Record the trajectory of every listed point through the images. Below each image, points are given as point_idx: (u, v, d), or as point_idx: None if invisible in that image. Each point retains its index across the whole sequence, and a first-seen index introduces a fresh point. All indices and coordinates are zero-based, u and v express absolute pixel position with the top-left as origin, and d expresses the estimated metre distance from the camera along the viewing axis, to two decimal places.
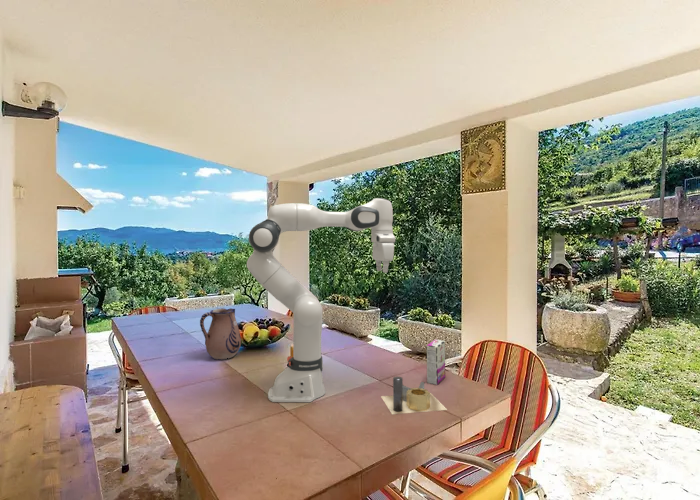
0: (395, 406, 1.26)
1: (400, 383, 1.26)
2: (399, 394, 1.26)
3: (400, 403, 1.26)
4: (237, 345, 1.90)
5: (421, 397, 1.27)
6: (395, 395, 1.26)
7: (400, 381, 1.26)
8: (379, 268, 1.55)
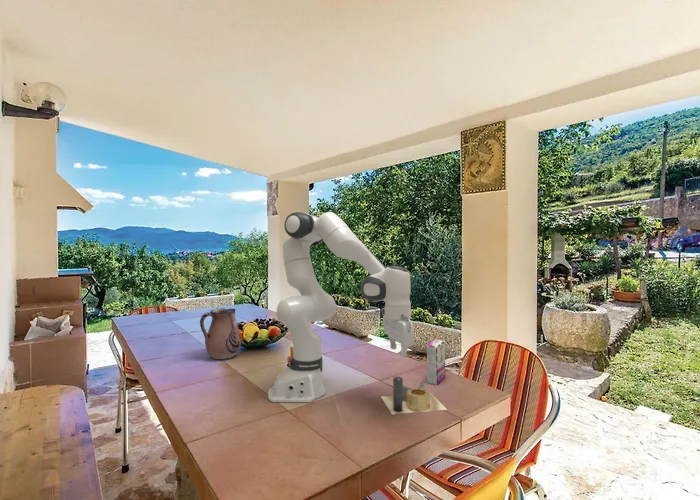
0: (395, 406, 1.26)
1: (400, 383, 1.26)
2: (399, 394, 1.26)
3: (400, 403, 1.26)
4: (237, 345, 1.90)
5: (421, 397, 1.27)
6: (395, 395, 1.26)
7: (400, 381, 1.26)
8: None
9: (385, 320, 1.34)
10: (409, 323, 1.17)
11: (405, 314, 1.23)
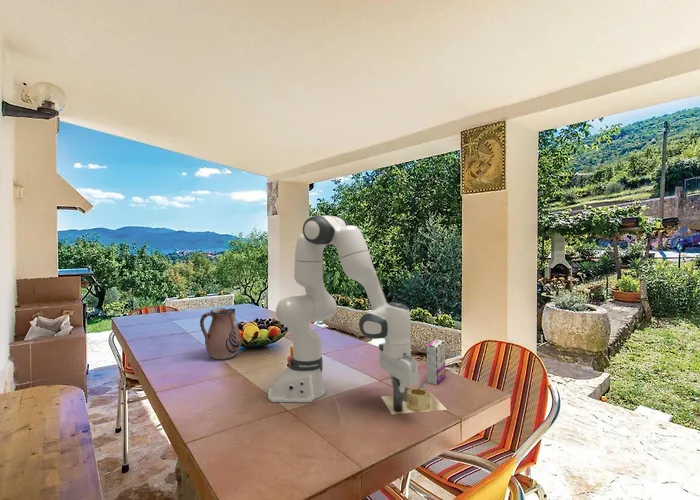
0: (395, 406, 1.26)
1: None
2: (399, 394, 1.26)
3: (400, 403, 1.26)
4: (237, 345, 1.90)
5: (421, 397, 1.27)
6: (395, 395, 1.26)
7: None
8: None
9: (382, 356, 1.34)
10: (414, 363, 1.18)
11: (407, 352, 1.24)
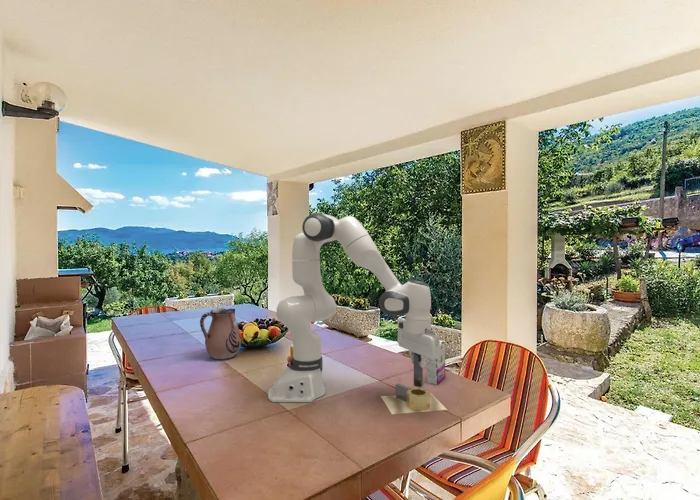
0: (416, 381, 1.29)
1: (421, 359, 1.29)
2: (419, 369, 1.29)
3: (421, 378, 1.29)
4: (237, 345, 1.90)
5: (421, 397, 1.27)
6: (416, 370, 1.29)
7: None
8: None
9: (401, 333, 1.36)
10: (437, 337, 1.21)
11: (428, 328, 1.27)
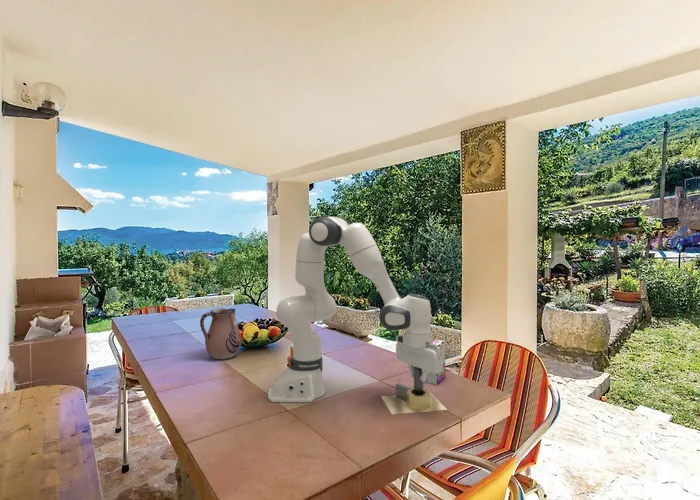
0: None
1: (421, 372, 1.29)
2: (420, 383, 1.29)
3: (421, 392, 1.29)
4: (237, 345, 1.90)
5: (421, 397, 1.27)
6: (417, 384, 1.29)
7: (421, 370, 1.29)
8: None
9: (399, 347, 1.35)
10: (440, 351, 1.22)
11: (429, 341, 1.27)
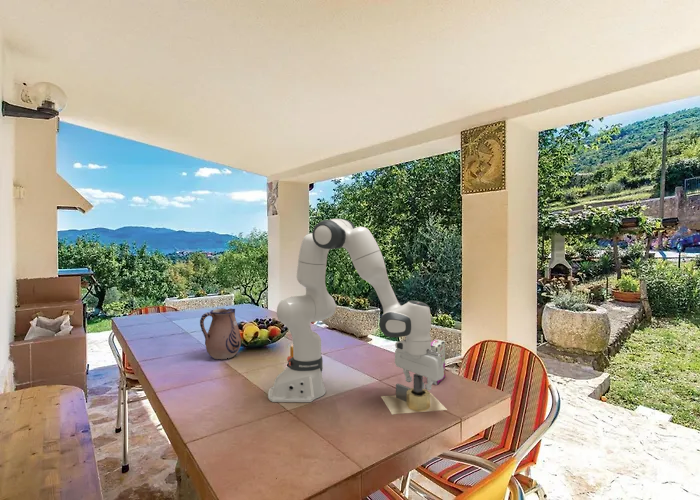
0: None
1: (421, 380, 1.29)
2: (420, 390, 1.29)
3: None
4: (237, 345, 1.90)
5: (421, 397, 1.27)
6: (416, 392, 1.29)
7: (421, 378, 1.29)
8: None
9: (399, 354, 1.35)
10: (441, 358, 1.22)
11: (429, 348, 1.28)
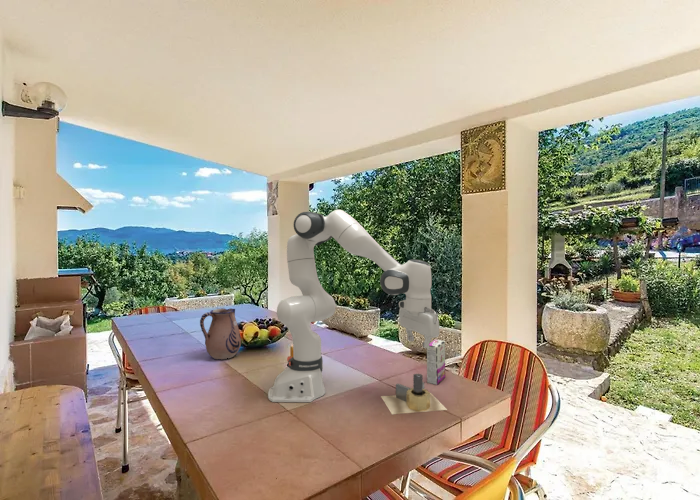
0: None
1: (421, 380, 1.29)
2: (420, 391, 1.29)
3: None
4: (237, 345, 1.90)
5: (421, 397, 1.27)
6: (416, 392, 1.29)
7: (421, 378, 1.29)
8: None
9: (402, 313, 1.36)
10: (435, 315, 1.21)
11: (428, 307, 1.26)
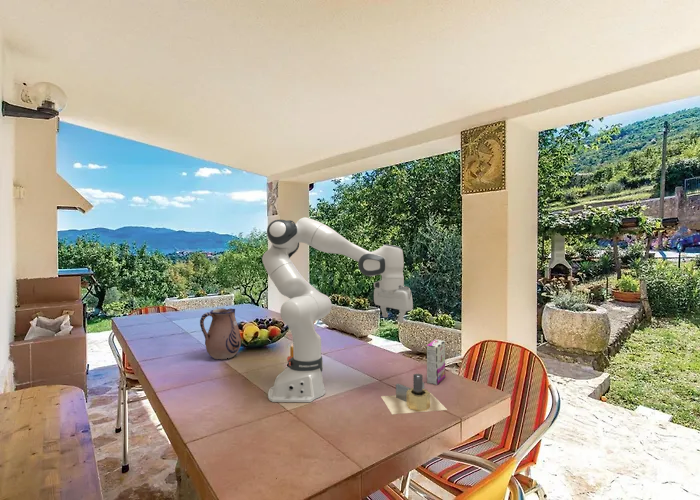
0: None
1: (421, 380, 1.29)
2: (420, 391, 1.29)
3: None
4: (237, 345, 1.90)
5: (421, 397, 1.27)
6: (416, 392, 1.29)
7: (421, 378, 1.29)
8: None
9: (377, 293, 1.53)
10: (410, 291, 1.39)
11: (401, 285, 1.45)
